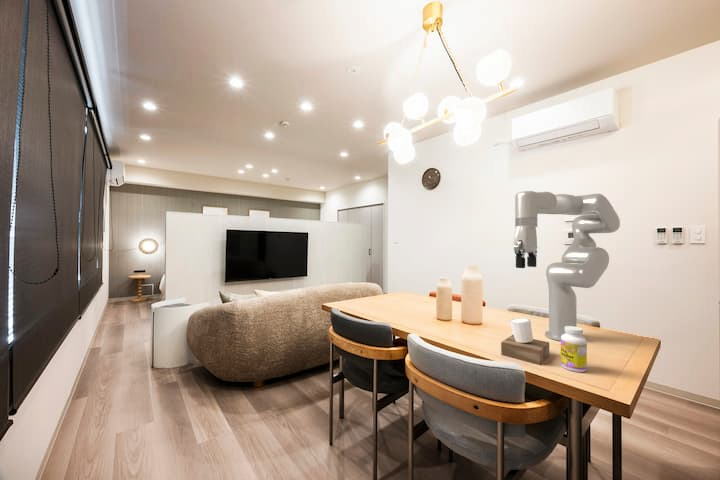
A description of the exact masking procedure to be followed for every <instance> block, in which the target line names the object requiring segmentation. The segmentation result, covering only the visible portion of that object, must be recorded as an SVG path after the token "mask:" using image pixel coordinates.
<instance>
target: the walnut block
mask: <svg viewBox="0 0 720 480" xmlns="http://www.w3.org/2000/svg"><path fill="white" fill-rule="evenodd" d="M500 352H501V353H500V355H501V356H503V357H507V358H511V359H515V360H518V361H523V362H526V363H529V364H534V365H537V366H541V365H542V364H543V363H544V361H546V359H547V358H548V357H550V342H549V341H543V340H540V339H535V338H533V341H531V342H527V343H520V342H516V341H515V338H514V335H513V334H512V335H510V336H508V337H507V338H506V339H504V340H502V341H501V344H500Z"/></svg>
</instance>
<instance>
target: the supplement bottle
mask: <svg viewBox="0 0 720 480" xmlns="http://www.w3.org/2000/svg"><path fill="white" fill-rule="evenodd" d="M583 329H584V328H582V327H578V326H577V327H574V326H565V334H563V335H562V336H561V341H560V366H561V367H562V368H564V369H565V370H568V371H570V372H575V373H584V372H586V371H587V369H588V368H587V365H588V364H587V362H588V361H587V360H588V359H587V357H588V352H587V350H588V349H587V348H588V347H587V346H588V345H587V344H588V340H587V339H586V337H584V336H583V334H584V330H583Z"/></svg>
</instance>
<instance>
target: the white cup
mask: <svg viewBox="0 0 720 480" xmlns="http://www.w3.org/2000/svg"><path fill="white" fill-rule="evenodd" d="M508 321H509V322H508V323H509V325H510V328H511V331H512V335H514V338H515V341H516V342H520V343H527V342H531V341H533V339H534V337H533V330H532V323H531V319H530V318H525V317H524V318H523V317H521V318H520V317H519V318H513V319H510V320H508Z"/></svg>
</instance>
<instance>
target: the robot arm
mask: <svg viewBox="0 0 720 480" xmlns="http://www.w3.org/2000/svg"><path fill="white" fill-rule="evenodd" d="M514 198H515V199H514V202H515V203H514V207H515V208H514V212H515V213H514V218H515V220H514V223H515V224H514V227H515V228H514V234H513V235H514V237H513V251H514V254H515V256H514V257H515V268H517V269H525V268H526V264H527V267H529V268H537V256H538V255H537V253H538V250H537V249H538V238H537V237H538V235H537V228H538V215H539V214H540V215H565V216H566V215H568V216H575V218H573V220H572V223H571V228H572V235H573V241H572V242H571V243H570V244H569V246H568V247H567V248H566V250H565V251H564V253H563V254H562V256H561V262H558V261H557V262H552V263H550V264H549V265H548V266H547V267H546V269H545V270H546V271H545V276H546V281H547V284H548V285H547V286H548V287H547V288H548V330H546V331H545V332H544V336H545V337H547V338H549V339H550V340H555V341H558V342H561V336H562V335H563V334H565V326H574V327H578V326H577V302H578V301H577V295H576V293H575V291H574V289H573V287H575V288H580V289H581V288H583V289H589V288H592V287H594V286H595V285H597V283H598V281H599V279H600V278H601V277H602V275H604V273H605V271H606V270H607V269H608V266H609V263H610V256H609V252H608V251H607V250H606V249H604V248H603V247H599V246H597V242H596V241H595V239H594V238H593V237H591V234H611V233H615V232H617V231H618V230H619V228H620V226H621V219H620V218H619V215H618V213H617V212H616V211H615V209H614V207H613V206H612V204H611V203H610V200H608V198H607V197H606V196H604V195H603V194H601V193H591V194H584V195H577V194H576V195H575V194H565V193H559V194H554V193H552V192H551V191H534V190H533V191H532V190H527V191H526V190H525V191H519V192H517V193H516V194H515V196H514ZM576 216H577V217H576ZM526 253H527V257H525V255H526ZM526 260H527V262H526Z"/></svg>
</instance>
